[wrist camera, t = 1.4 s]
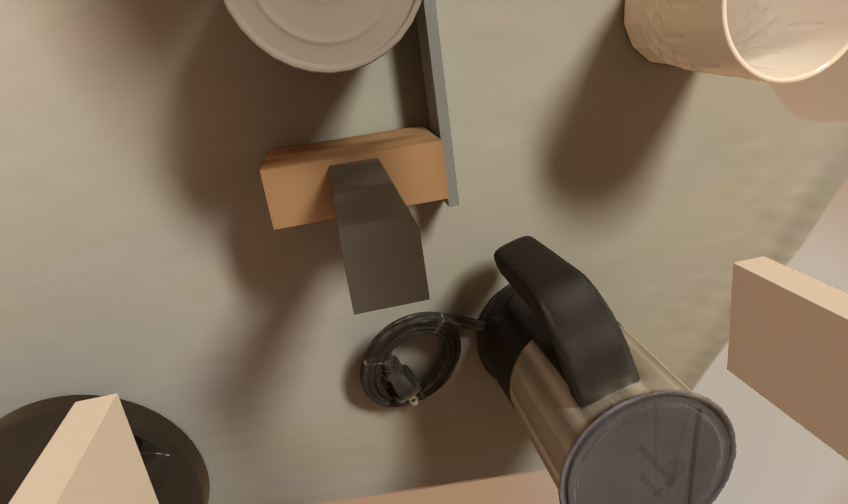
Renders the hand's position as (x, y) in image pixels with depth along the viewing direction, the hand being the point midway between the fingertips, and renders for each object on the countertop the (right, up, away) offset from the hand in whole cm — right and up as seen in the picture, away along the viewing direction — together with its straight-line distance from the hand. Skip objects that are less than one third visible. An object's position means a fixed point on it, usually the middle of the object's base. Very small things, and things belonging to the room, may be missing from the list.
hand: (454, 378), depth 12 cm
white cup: (+15, +18, +23) cm, 33 cm away
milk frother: (+4, -3, +29) cm, 29 cm away
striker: (-5, +8, +23) cm, 25 cm away
